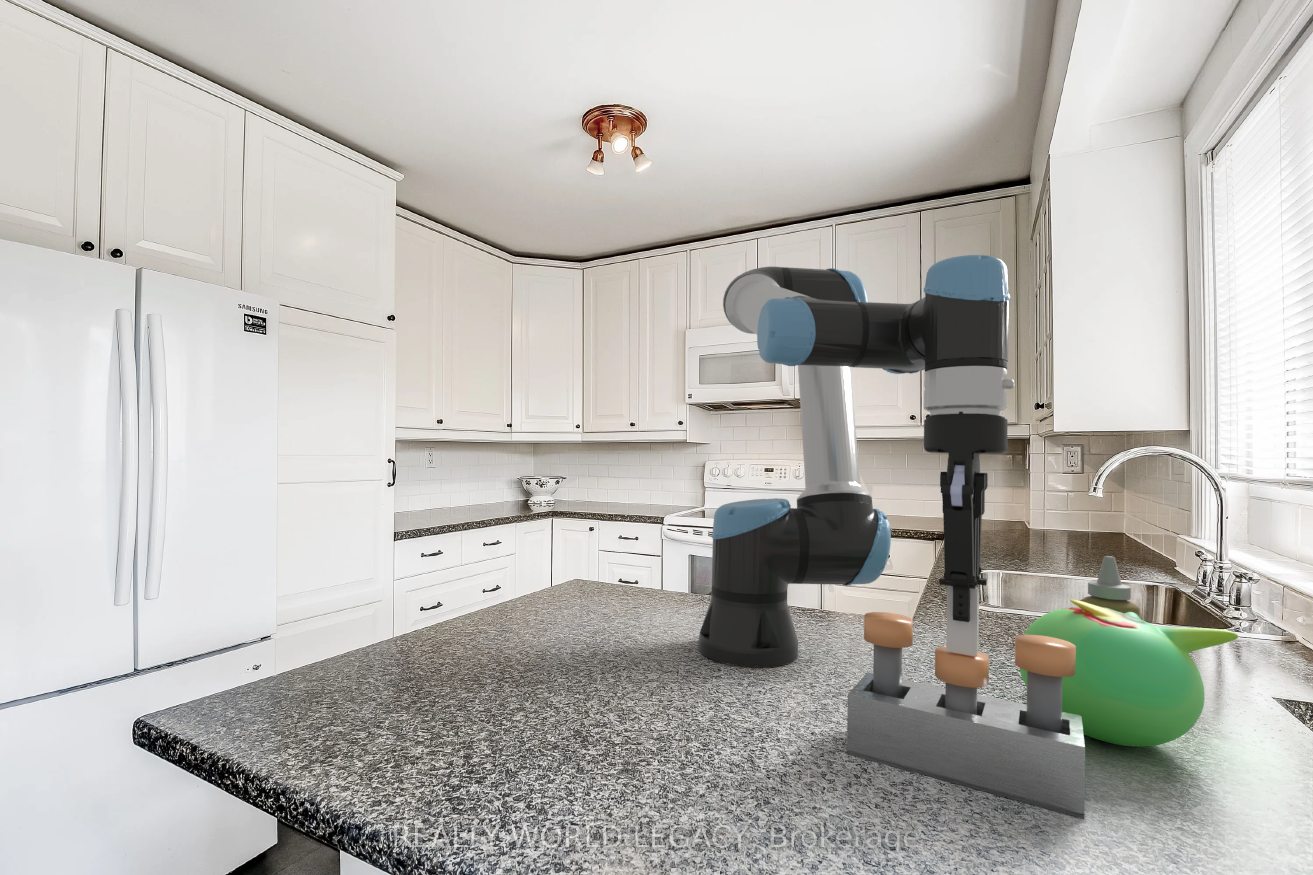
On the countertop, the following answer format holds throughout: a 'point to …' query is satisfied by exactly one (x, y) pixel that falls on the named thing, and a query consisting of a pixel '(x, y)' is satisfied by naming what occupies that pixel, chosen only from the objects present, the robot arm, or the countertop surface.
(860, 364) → the robot arm
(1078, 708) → the toy bird
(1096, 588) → the squeeze bottle
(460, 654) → the countertop surface
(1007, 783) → the mount
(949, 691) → the knob middle
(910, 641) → the knob
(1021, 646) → the knob
